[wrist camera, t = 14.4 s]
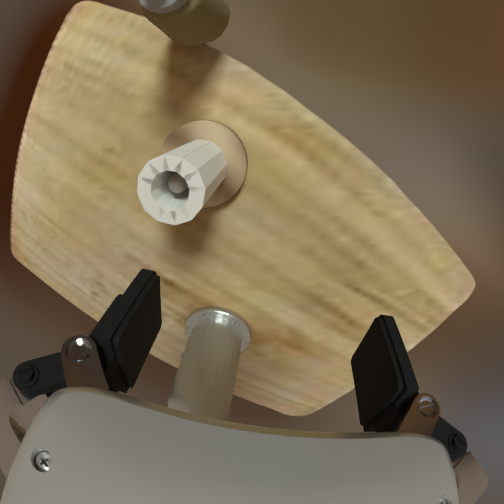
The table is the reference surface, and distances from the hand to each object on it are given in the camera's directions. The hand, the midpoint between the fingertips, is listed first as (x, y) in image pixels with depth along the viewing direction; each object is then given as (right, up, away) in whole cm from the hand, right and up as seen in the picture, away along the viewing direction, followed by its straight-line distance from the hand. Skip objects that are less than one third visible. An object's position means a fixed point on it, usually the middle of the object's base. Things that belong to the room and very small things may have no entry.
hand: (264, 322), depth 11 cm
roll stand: (-7, +15, +25) cm, 30 cm away
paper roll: (-7, +14, +24) cm, 29 cm away
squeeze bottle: (-7, +32, +15) cm, 36 cm away
